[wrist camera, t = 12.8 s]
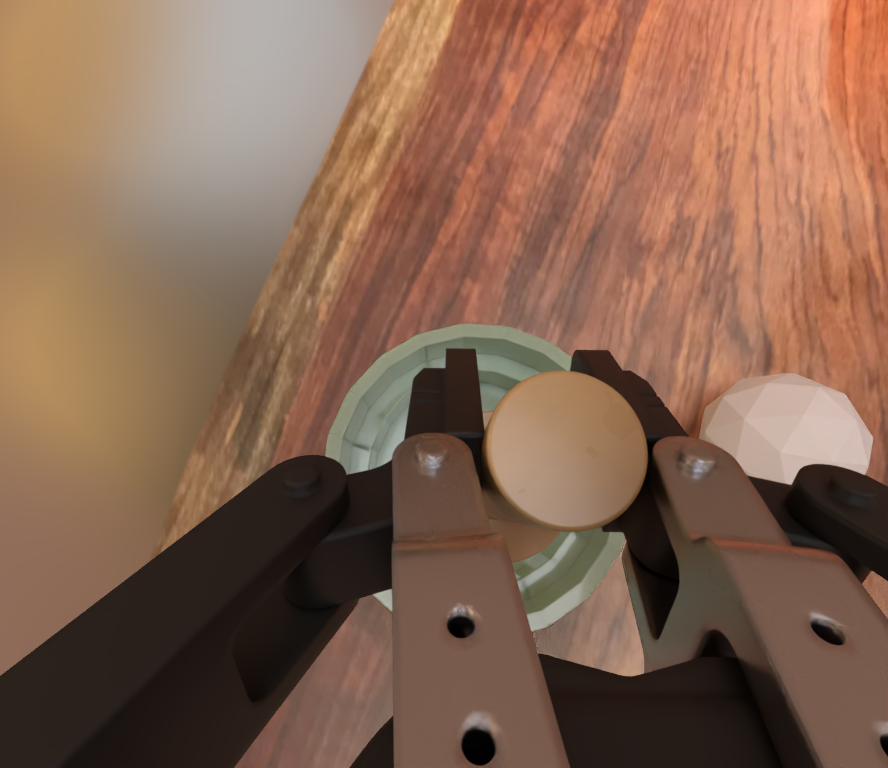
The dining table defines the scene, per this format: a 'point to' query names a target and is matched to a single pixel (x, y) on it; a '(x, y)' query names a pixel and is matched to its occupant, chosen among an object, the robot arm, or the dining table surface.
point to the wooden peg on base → (559, 459)
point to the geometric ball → (786, 427)
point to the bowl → (500, 368)
